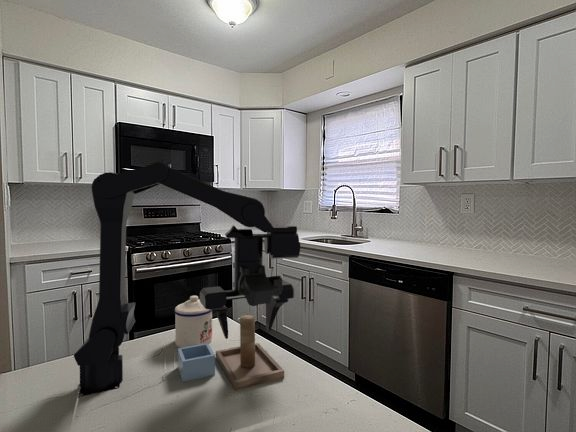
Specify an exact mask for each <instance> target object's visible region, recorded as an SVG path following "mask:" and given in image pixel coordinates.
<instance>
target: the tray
mask: <svg viewBox="0 0 576 432" xmlns="http://www.w3.org/2000/svg"><path fill="white" fill-rule="evenodd" d="M215 360H217V362H218V364H219V367H220V368H221V369H222V371H223V373H224V374H225V376H226V379H228V382H229V384H230V385H231V386H232V388H233V390H234V391H238V390H243V389H246V388H251V387H254V386H258V385H261V384H265V383H266V384H267V383H270V382H273V381H278V380H281V379H285V370H284V369H283V368H282V366H281V365H280V364H279V363H278V362H277V361H276V360H275V359H274V358H273V357H272V356H271V355H270V353H269V352H267V350H265V348H264V347H263V346H262V345H261V344H260V343H259V342H255V366H254V367H252V368H248V369H246V368H242V367H241V363H240V346H235V347H231V348H225V349H220V350H215Z"/></svg>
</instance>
